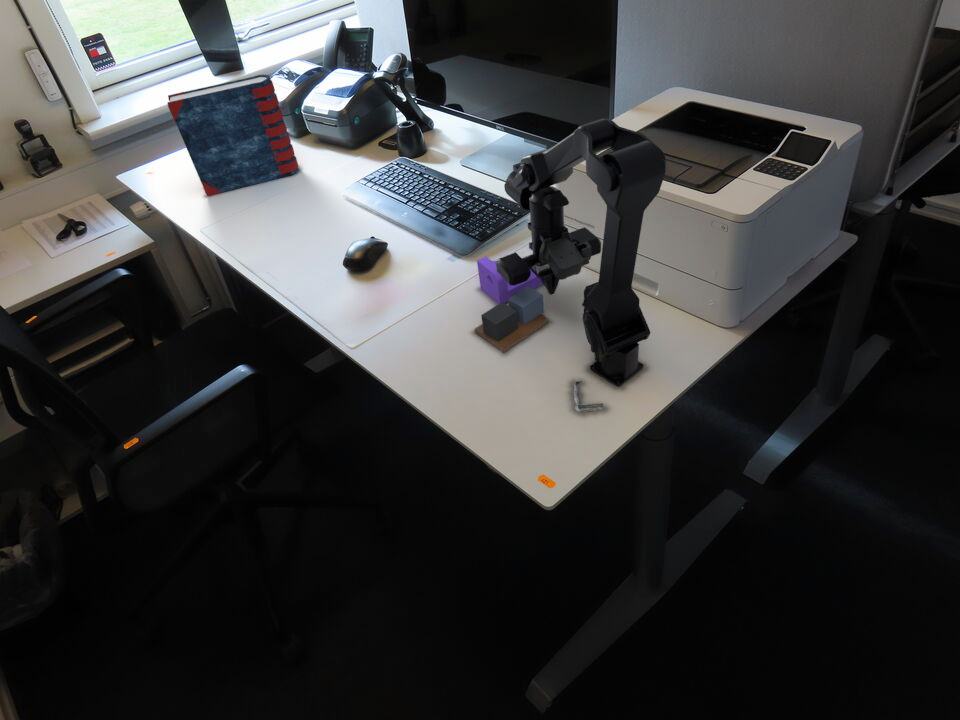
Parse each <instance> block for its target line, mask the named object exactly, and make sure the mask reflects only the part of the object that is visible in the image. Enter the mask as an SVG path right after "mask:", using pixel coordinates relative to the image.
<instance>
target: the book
mask: <svg viewBox="0 0 960 720" xmlns="http://www.w3.org/2000/svg"><path fill="white" fill-rule="evenodd" d="M275 91H276V89H275V85H274V83H273V80H272V79H271V76H270V75H269V74H258V75H254V76H249V77H245V78H241V79H236V80H231V81H227V82H222V83H217V84H214V85H209V86H206V87H200V88H196V89H191V90H186V91H180V92H176V93H173V94H169V95H167V97H168V101H167V108H168V109H169V112H170V114H171V117H172V118H173V121H174V122H175V125H176V127H177V129H178V131H179V134H180V136H181V139H182V141H183V143H184V145H185V148H186V150H187V153H188V155H189V157H190V160H191V162H192V164H193V167H194V169H195V172H196V174H197V176H198V178H199V181H200V183H201V185H202V188H203V190H204V193H205V195H206V197H209V196H214V195H218V194H221V193H225V192H230V191H233V190H238V189H242V188H245V187H250V186H254V185H257V184H262V183H266V182H269V181H275V180H279V179H282V178H286V177H291V176H294V175H295V174H297V173H298V172H299V171H300V169H299V162H298V160H297V156H296V154H295V150H294V146H293V144H292V140H291V137H290V133H289V132H288V128H287V125H286V122H285V120H284V115H283V110H282V108H281V106H280V101H279V98H278V96H277V94H276V92H275Z"/></svg>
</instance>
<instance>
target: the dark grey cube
mask: <svg viewBox="0 0 960 720" xmlns="http://www.w3.org/2000/svg"><path fill="white" fill-rule="evenodd" d="M480 316H481V324H483V331H484V333H486V334H487V335H489V336H490V337H492V338H493V339H495V340H496V341H498V342H499V341H500V340H502V339H503V338H505V337H506V336H508V335H509V334H511V333H512V332H514V331H515V330H517V329H518V328H519V327H518V317H517V311H516V310H514V309H513V308H511V307H509V304H506V303H503V302H501V303H500V304H498V303H497V304H496V305H495V306H493V307H492V308H490V309H488V310H487V311H485V312H483V313H482V314H481V315H480Z"/></svg>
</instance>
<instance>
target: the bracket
mask: <svg viewBox="0 0 960 720" xmlns="http://www.w3.org/2000/svg"><path fill="white" fill-rule="evenodd" d="M496 263H497V260H492V259H490V258H489V257H487V255H485V256H483V257H481V258H478V259H477V260H476V265H477V271H478V280H479V286H480V290H481V291H482V292H483V293H485V294H486V295H487V296H488V297H490V298H491V299H492V300H493V301H494V302H495V303H497V305H498V304H500V303H501V302H503V303H504V304H506V303H508V298H510V297H511V296H513V295H514V294H516V293H518V292H519V291H521V290H522V289H524V288H526V287H527V286H528V287H530V288H532V289H534V290H535V289H536V288H538V287H540V286H542V285H543V283H542V281H541V279H540V278H538V277H537V276H536V275H535V274H534V273H533V272H532V271H531V270H530V274H531V276H530V277H529V279H528V280H527V281H525V282H523V283H520V284H517V285H515V286H512V285H509V284H508V283H507V282H506V281H505V279H504V278H503V277H502V276H501V275H500V274H499V273H498V272H497V267H496Z"/></svg>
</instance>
